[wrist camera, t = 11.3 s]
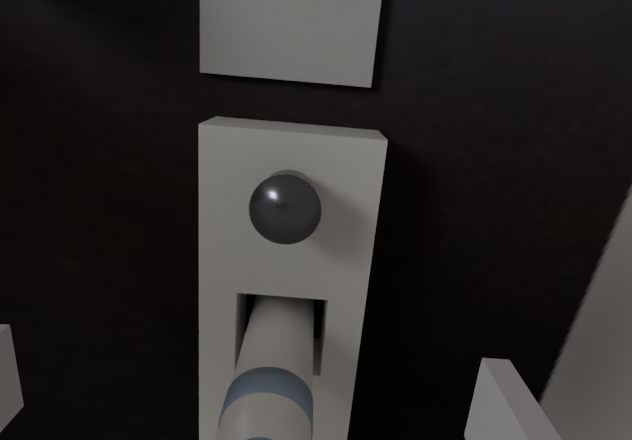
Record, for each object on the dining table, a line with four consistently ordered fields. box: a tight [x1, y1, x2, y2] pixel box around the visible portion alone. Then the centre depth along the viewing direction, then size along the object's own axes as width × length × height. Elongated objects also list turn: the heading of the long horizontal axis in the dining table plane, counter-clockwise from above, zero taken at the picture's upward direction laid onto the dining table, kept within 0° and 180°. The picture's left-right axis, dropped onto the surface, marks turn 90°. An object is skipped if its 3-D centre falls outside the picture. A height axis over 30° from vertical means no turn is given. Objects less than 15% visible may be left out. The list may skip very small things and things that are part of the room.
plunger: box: [249, 170, 321, 245], centre depth 27 cm, size 4×4×3 cm
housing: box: [199, 116, 388, 440], centre depth 35 cm, size 12×30×5 cm, turn 175°
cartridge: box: [215, 294, 314, 440], centre depth 29 cm, size 5×5×17 cm
